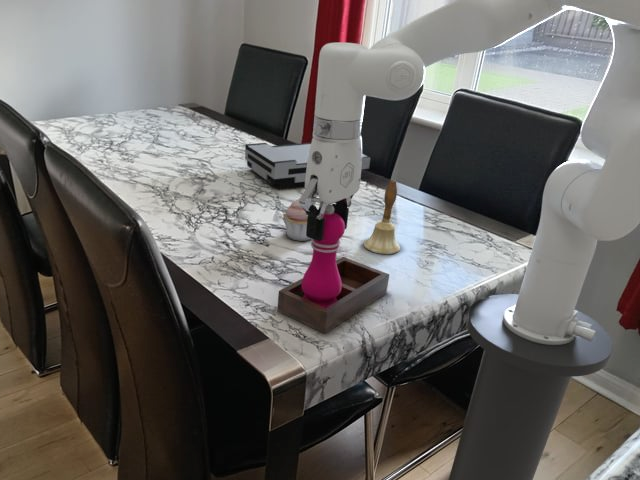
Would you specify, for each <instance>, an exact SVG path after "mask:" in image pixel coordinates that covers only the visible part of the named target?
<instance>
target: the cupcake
mask: <svg viewBox="0 0 640 480" xmlns="http://www.w3.org/2000/svg"><path fill="white" fill-rule="evenodd" d="M299 199H300V198H298V199H295V200H294V201H292V202H291V204H290V205H289V206H288V207H287V209H286V212H285V213H282V221H283V223H284V225H285V231H286V235H287V237H288V238H289V239H290V240H293V241H299V242H306V241H310V240H312V238H309V237H307V236H306V229H307V217H308V216H307V215H306V212H305V211H304V209H303V207H302V206H301V204H300V203H299ZM316 208H317V209H318V207H317V206H316Z"/></svg>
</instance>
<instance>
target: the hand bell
mask: <svg viewBox="0 0 640 480" xmlns="http://www.w3.org/2000/svg"><path fill="white" fill-rule="evenodd" d="M397 196H398V187H397V180H395V179H390V180H389V183H388V184H387V186H386V188H385V191H384V199H383V201H384V211H383V215H382V219H381V221H378V222H376V223H375V225H374V228H373V231H372V233H371V235H370V237H369V238H367V239H365V241H364V243H363V246H364V248H365V249H367V250H368V251H370V252H373V253H376V254H382V255H392V254H393V255H394V254H396V253H398V252H399V251H400V250H401V246H400V244H399V243H398V242H397V240H396V226H395V225H394V224H393V223H392V222H391V216H392V210H393V206H394V204H395V203H396V200H397Z"/></svg>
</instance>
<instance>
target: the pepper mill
mask: <svg viewBox="0 0 640 480" xmlns="http://www.w3.org/2000/svg"><path fill="white" fill-rule="evenodd" d="M333 212H334V207H333V206H332V204H327V205H326V209H325V212H324V215H323V217H322V218H324V219H325V225H324V235H323V240H322V241H317V240H314V239H311V243H310V246H311V247H310V248H312V255H311V256H312V257H311V260H310V261H311V262H310V264H309V266H308V268H307V269H306V270H305V272H304V275H303V277H302V278H303V280H302V285H301V287H302V290H303V292H304V294H305V295H304V296H303V298H304V299H306V300H309V301H311V302H313V303H315V304H317V305H320V306H322V307H324V308H327V307H328V306H330V305H332V304H333V303H335V302H337V298H336V297H337V296H338V295H339V294H340V292H341V278H340V275H339V272H338V269H337V264H336V260H337V254H338V253H337V252H338V251H339V250H340V248H341V245H340V244H341V240H340V239H341V238H343V236H344V233H345V230H346V229H345V224H344V221H343V219H342V218H341V217H340V216H339V215H338V214H336V213H333Z"/></svg>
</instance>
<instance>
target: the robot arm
mask: <svg viewBox="0 0 640 480" xmlns="http://www.w3.org/2000/svg"><path fill="white" fill-rule="evenodd" d="M566 10H574V11H583V12H586V13H589V14H592V15H595V16H598V17H601V18H604V19H605V20H606V22H607V23H608V25H609V28H610V30H611V34H612V39H613V51H612V56H611V59H610V63H609V65H608V68H607V70H606V72H605V75H604V77H603V79H602V82H601V83H600V85H599V88H598V90H597V92H596V93H595V96H594V98H593V100H592V103H591V104H590V107H589V109H588V111H587V113H586V115H585V117H584V119H583V122H582V124H581V127H580V134H579V136H580V140H581V143H582V144H583V146H584V147H585V148H586V149H587V150H589V151H590V152H591V153H593V154H594V155H596V156H598V157H600V158H601V159H603V160H604V163H603V165H602V164H600V163H598V162H595V161H592V160H588V159H584V158H583V159H581V158H579V159H572V160H569V161H566V162H563V163H562V164H560V165H559V166H556V168H555V169H554V170H553V171H552V172H551V173H550V175H549V176H548V178H547V180H546V181H545V185H544V189H543V193H542V199H541V200H542V201H541V211H540V218H539V223H538V227H537V231H536V235H535V238H534V241H533V245H532V248H531V251H530V255H529V258H528V261H527V265H526V268H525V272H524V276H523V279H522V282H521V286H520V289H519V293H518V294H519V296H518V299H517V302H516V306H513V307H510V308H508V309H507V310H506V311H505V313H504V316H503V322H504V324H505V325H506V327H507V328H508V329H509V330H510V331H512V332H513V333H515V334H516V335H518V336H520V337H522V338H524V339H527V340H529V341H532V342H536V343H540V344H546V345H562V344H566V343H569V342H571V341H572V340H573V339H574V338H575V335H577V336H580V337H581V338H584V339H586V340H589V341H592V340H593V338H594V336H595V333H596V331H594V330H591V327H592V325H591V324H588V323H586V322H582V321H579V319H578V318H576V315H577V313H578V311H579V310H578V309H576V306H577V303H578V300H579V298H580V294H581V291H582V288H583V285H584V283H585V281H586V277H587V274H588V272H589V269H590V266H591V263H592V261H593V258H594V255H595V252H596V250H597V245H598V241H601V242H602V241H603V242H612V241H616V240H620V239H622V238H623V237H626V236H627V235H628V234H630V233H632V232H633V230H635V229H636V228H637V227H638V226H639V224H640V0H452V1H450V2H449V3H447V4H444V5H443V6H440V7H439V8H436V9H434V10H433V11H430V12H428V13H426V14H424V15H422V16H420V17H418V18H416V19H414V20H412V21H410V22H409V23H406V24H405V25H403V26H402V27H399V28H398V29H397V30H395V31H393V32H391V33H389V34H388V35H386V36H384V37H383V38H381V39H379V40H378V41H377V42H375V43H374V44H373V45H372V46H371V47H370V48H368V47H367V46H365V45H363V44H360V43H354V42H343V41H342V42H340V41H339V42H328V43H325V44H324V45H323V46H322V47H321V49H320V51H319V56H318V68H317V78H316V92H315V104H314V114H313V115H314V117H313V127H312V139H311V142H310V143H311V147H310V151H309V157H308V162H307V169H306V178H305V187H304V191H303V192H302V194H301V196H300V198H298V199H299V203H300V204H301V206H302V207H303V209H304V211H305V212H306V215H307V216H308V217H307V229H306V236H307V237H309V238H312V239H314V240H317V241H322V240H323V235H324V225H325V219H324V218H322V217H323V215H324V212H325V209H326V205H328V204H331V205H332V206H333V207H334V212H333V213H336V214H338V215H339V216H340V217H341V218H342V219H343V221H344V224H345V230H347V227H348V220H349V212H350V208H351V206H352V199H353V197H354V195H355V194H357V193H358V192H359V190H360V187H361V177H362V169H361V167H362V154H363V138H362V134H361V133H362V125H363V119H364V110H365V102H366V97H372V98H375V99H376V98H377V99H382V100H386V101H402V100H406V99H408V98H410V97H412V96H413V95H415V94H416V93H417V92H418V91H419V90H420V89H421V87H422V85H423V83H424V80H425V77H426V76H425V75H426V68H427V67H430V66H431V65H434V64H436V63H439V62H440V61H443V60H445V59H448V58H451V57H455V56H460V55H464V54H473V53H481V52H485V51H488V50H491V49H494V48H497V47H500V46H502V45H504V44H506V43H507V42H509V41H510V40H513V39H514V38H516V37H519V35H521V34H523V33H526V32H527V31H529V30H531V29H533V28H535V27H536V26H538V25H540V24H542V23H544V22H546V21H547V20H549V19H551V18H553V17H554V16H555V17H556V15H558V14H561V13H562V12H564V11H566ZM316 203H318V204H319V206H318V207H317V205H316ZM316 207H317V208H316ZM312 239H311V240H312ZM574 309H576V310H574ZM577 310H578V311H577Z"/></svg>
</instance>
